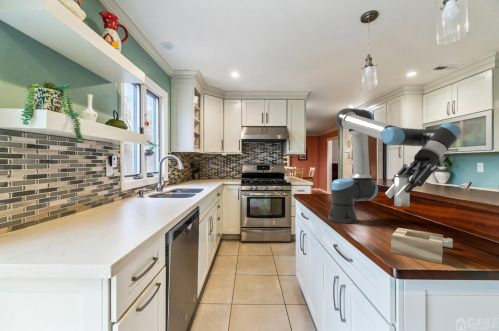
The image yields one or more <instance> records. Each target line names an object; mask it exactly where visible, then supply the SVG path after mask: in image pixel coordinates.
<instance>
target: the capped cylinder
mask: <svg viewBox="0 0 499 331" xmlns="http://www.w3.org/2000/svg"><path fill="white" fill-rule="evenodd" d="M393 177H394V195H393V198H394V200H393V201H394V202H393V204H394V206H396V207H410V206H411V205H410V204H411V203H410V199H411V197H410V193H411V192H409V193H408V194H407V195H406V197H405V198H404V199H403V200H400V199H399V198H398V197H397V196H396V195H397V193H398V192H399V191H400V190H401V189H402V188H403V187H404V185H405V184H406V183H409V182H408V181H410V177H409V175H396V174H393ZM409 184H410V183H409Z"/></svg>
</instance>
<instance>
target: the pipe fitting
mask: <svg viewBox="0 0 499 331" xmlns="http://www.w3.org/2000/svg"><path fill="white" fill-rule="evenodd" d="M453 241H454V240H453V238H450V237H447V238H446V237H443V248H447V249H452V250H453V244H454V243H453Z"/></svg>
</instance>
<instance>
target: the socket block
mask: <svg viewBox="0 0 499 331" xmlns="http://www.w3.org/2000/svg"><path fill="white" fill-rule="evenodd" d="M390 238H391V240H390V243H391V244H390V253H392V254H398V255H401V256H407V257H411V258H415V259H419V260H424V261H428V262H433V263H436V264H443V254H444V253H443V252H444V247H443V238H444V234H439V233H432V232H429V231H428V232H427V231H421V230H414V229H409V228H408V229H407V228H401V227H397V228H396V230H394V232H393V233H392V234H391V236H390Z"/></svg>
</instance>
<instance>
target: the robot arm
mask: <svg viewBox="0 0 499 331" xmlns="http://www.w3.org/2000/svg"><path fill="white" fill-rule="evenodd" d="M335 123H336V126H338V127H339V128H342V129H343V130H344V129H345V130H348V134H349V135H351V146H352V147H351V148H352V151H351V152H352V169H353V170H352V173H353V175H351V177H350V178H349V177H348V178H337V179H334V180H332V183H331V206H330V210H329V213H328V217H327V218H328V220H329V221H330V222H335V223H342V224H354V223H357V222H358V215H357V213H356V210H355V207H354V206H355V202H360V201H361V202H362V201H363V202H366V201H370V200H373V199H375V197H376V196H378V192H379V186H378V184H377V182H376V181H374V178H373V176H372V175H370V174H371V173H370V158H369V157H370V156H369V137H368V136H370V137H372V138H375V139H377V140H381V142H382V143H383V144H385V145H389V146H409V147H420V149H419V150H418V151H417V152H416V154H414V156H413V161H412V162H410V163H409V164H406V163H404V164H402V167H401V168H400V169H399V171H398V172H397V173H396V174H395V175H409V178H411V179H409V181H408V182H409V183H406V184H405V185H404V187H403V188H402V189H401V190H400V191H399V192H398V193H397V195H396V196H397V197H398V198H399V199H400V200H403V199H404V198H405V197H406V195H407V194H408V193H409V192H410V193H411V192H412V191H413V189H415V188H417V187H419V188H420V187H422V186H423V185H424V184H425V183H426V181H427V180H428V179H429V178H430V176H431V175H432V174H433V173H434V172H436V171H437V170H438V167H437V164H438V162H439V161H440V160H441V158H442V157H444V155H445V154H446V153H447V151H448V150H450V148H451V147H452V146H453V144H455V143H456V142H457V141H458V138H460V136H461V135H462V130H461V127H460V126H459V125H457V124H454V123H452V122H445V123H443V124H441V125H440V126H438V128H426V129H425V128H409V127H406V128H405V127H401V126H400V127H399V126H396V125H392V124H389V123H385V122H381V121H378V120H375V117H374V113H372V111H371V110H367V109H364V108H362V109H360V108H350V107H346V108H342V109H340V110H339V111H338V112H337V113H336V115H335ZM411 176H412V177H411ZM391 182H392V185H391V186H390V187H389V188H388V189H387V190H386V191H385V194H384V195H385V196H386V197H388V198H389V199H392V198H393V197H394V176H393V177H392V178H391Z"/></svg>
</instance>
